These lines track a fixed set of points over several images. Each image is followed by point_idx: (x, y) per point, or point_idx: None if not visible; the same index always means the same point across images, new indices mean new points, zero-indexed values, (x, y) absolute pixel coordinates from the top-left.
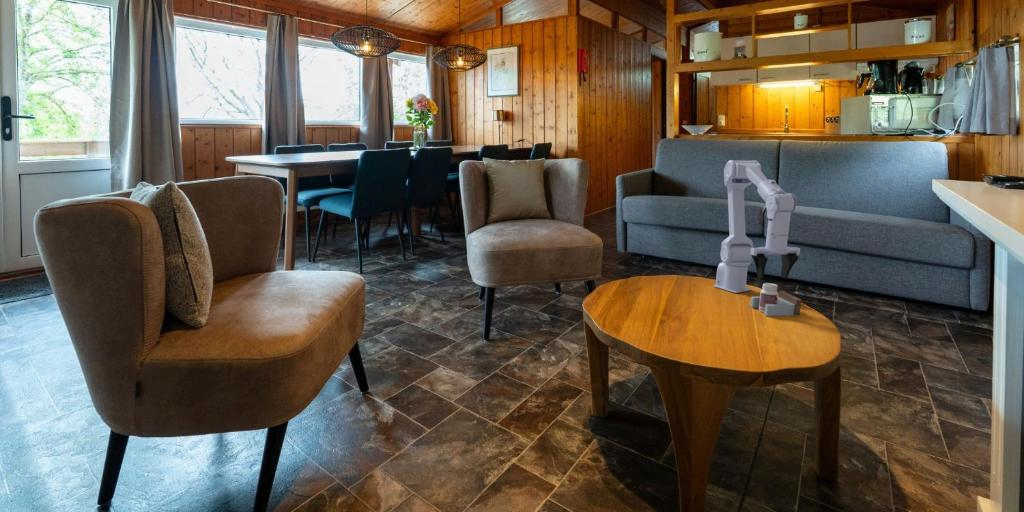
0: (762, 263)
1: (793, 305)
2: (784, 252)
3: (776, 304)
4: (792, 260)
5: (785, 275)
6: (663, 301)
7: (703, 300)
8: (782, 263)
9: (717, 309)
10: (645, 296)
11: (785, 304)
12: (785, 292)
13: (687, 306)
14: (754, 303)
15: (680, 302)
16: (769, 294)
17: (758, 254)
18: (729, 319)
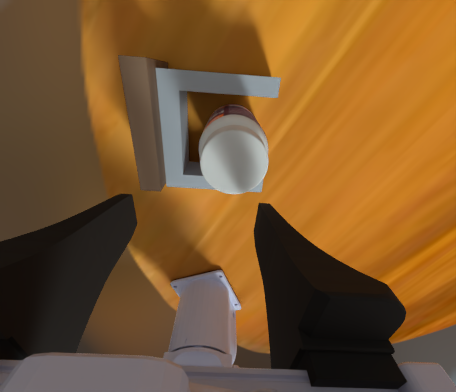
0: (328, 260)
1: (162, 69)
2: (52, 376)
3: (232, 88)
4: (3, 257)
5: (124, 202)
6: (438, 244)
7: (337, 238)
8: (98, 289)
9: (366, 171)
10: (440, 276)
11: (194, 81)
12: (141, 173)
13: (421, 205)
14: None
15: (406, 233)
16: (254, 122)
17: (386, 375)
18: (424, 67)
